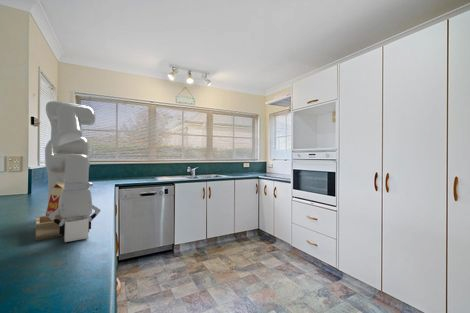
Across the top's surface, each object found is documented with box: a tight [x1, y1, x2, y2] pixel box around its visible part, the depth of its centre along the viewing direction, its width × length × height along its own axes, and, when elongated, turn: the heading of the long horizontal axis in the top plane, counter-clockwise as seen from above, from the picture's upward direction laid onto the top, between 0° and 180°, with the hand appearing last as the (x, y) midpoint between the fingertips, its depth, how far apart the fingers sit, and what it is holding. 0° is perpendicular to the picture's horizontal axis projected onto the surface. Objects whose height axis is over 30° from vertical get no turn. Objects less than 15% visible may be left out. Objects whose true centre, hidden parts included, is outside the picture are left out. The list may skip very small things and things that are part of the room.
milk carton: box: [45, 181, 64, 216], centre depth 103 cm, size 9×9×20 cm
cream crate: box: [63, 216, 90, 243], centre depth 84 cm, size 9×7×7 cm
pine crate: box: [35, 214, 62, 242], centre depth 91 cm, size 14×15×6 cm
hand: (75, 233), depth 84 cm, fingers closed on cream crate, 7 cm apart
